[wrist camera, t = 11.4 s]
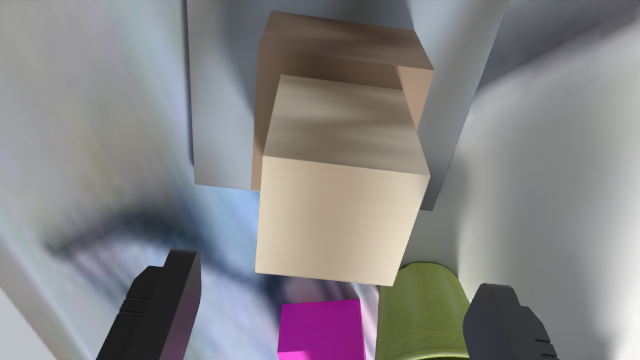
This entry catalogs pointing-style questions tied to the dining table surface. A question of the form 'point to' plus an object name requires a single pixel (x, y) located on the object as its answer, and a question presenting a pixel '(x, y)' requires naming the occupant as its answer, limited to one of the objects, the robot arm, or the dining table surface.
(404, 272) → the plant pot
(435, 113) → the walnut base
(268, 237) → the maple brick
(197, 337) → the dining table surface
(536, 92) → the dining table surface
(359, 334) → the toy block
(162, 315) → the robot arm
